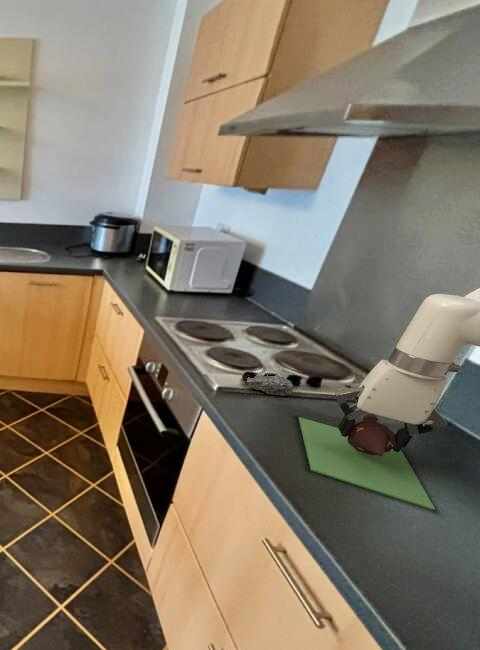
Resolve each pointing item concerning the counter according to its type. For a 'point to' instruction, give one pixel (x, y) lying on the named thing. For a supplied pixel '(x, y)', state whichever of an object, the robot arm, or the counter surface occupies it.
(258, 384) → the rock
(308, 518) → the counter surface
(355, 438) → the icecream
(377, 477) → the cloth
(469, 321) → the robot arm
